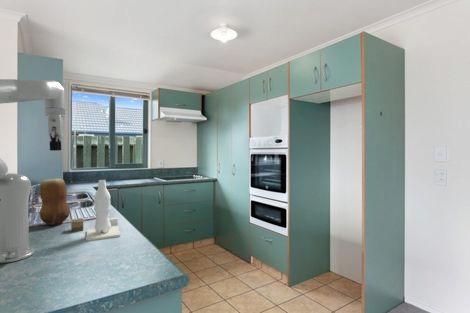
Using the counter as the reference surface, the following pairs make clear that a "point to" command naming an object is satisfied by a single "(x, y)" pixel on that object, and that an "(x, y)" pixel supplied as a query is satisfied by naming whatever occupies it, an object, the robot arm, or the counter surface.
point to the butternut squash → (53, 201)
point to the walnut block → (77, 225)
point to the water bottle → (102, 208)
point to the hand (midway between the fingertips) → (55, 150)
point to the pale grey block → (113, 221)
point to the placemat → (102, 234)
